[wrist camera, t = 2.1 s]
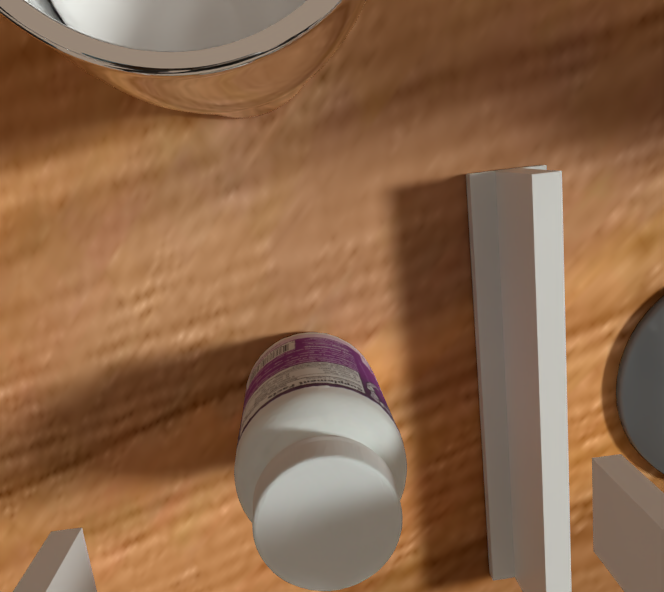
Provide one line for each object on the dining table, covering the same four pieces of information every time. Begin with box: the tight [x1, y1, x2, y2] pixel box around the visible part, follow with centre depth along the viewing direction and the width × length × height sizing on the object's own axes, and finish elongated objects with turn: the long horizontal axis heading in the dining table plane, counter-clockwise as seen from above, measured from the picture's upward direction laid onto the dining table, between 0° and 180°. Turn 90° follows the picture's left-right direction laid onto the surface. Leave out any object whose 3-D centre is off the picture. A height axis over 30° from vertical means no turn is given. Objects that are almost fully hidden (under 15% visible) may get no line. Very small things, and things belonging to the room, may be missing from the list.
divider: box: [466, 165, 571, 592], centre depth 24 cm, size 3×18×4 cm, turn 7°
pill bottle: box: [234, 332, 407, 591], centre depth 21 cm, size 5×5×10 cm
